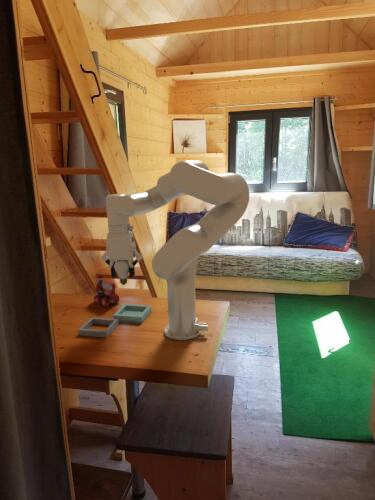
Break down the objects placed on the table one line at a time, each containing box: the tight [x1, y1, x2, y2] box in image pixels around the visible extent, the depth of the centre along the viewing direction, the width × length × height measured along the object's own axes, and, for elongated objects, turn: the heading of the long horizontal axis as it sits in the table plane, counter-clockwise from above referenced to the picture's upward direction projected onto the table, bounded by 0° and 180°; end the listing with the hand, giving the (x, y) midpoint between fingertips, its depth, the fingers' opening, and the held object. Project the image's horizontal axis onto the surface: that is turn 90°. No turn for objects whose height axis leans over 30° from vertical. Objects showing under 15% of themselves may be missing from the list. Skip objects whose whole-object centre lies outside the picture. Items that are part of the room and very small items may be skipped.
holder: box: [77, 317, 120, 338], centre depth 135 cm, size 10×10×2 cm
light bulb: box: [114, 260, 130, 286], centre depth 138 cm, size 6×6×10 cm
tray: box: [112, 303, 152, 324], centre depth 145 cm, size 11×11×2 cm
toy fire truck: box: [93, 278, 120, 308], centre depth 158 cm, size 7×12×10 cm, turn 48°
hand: (123, 276), depth 139 cm, fingers closed on light bulb, 5 cm apart
